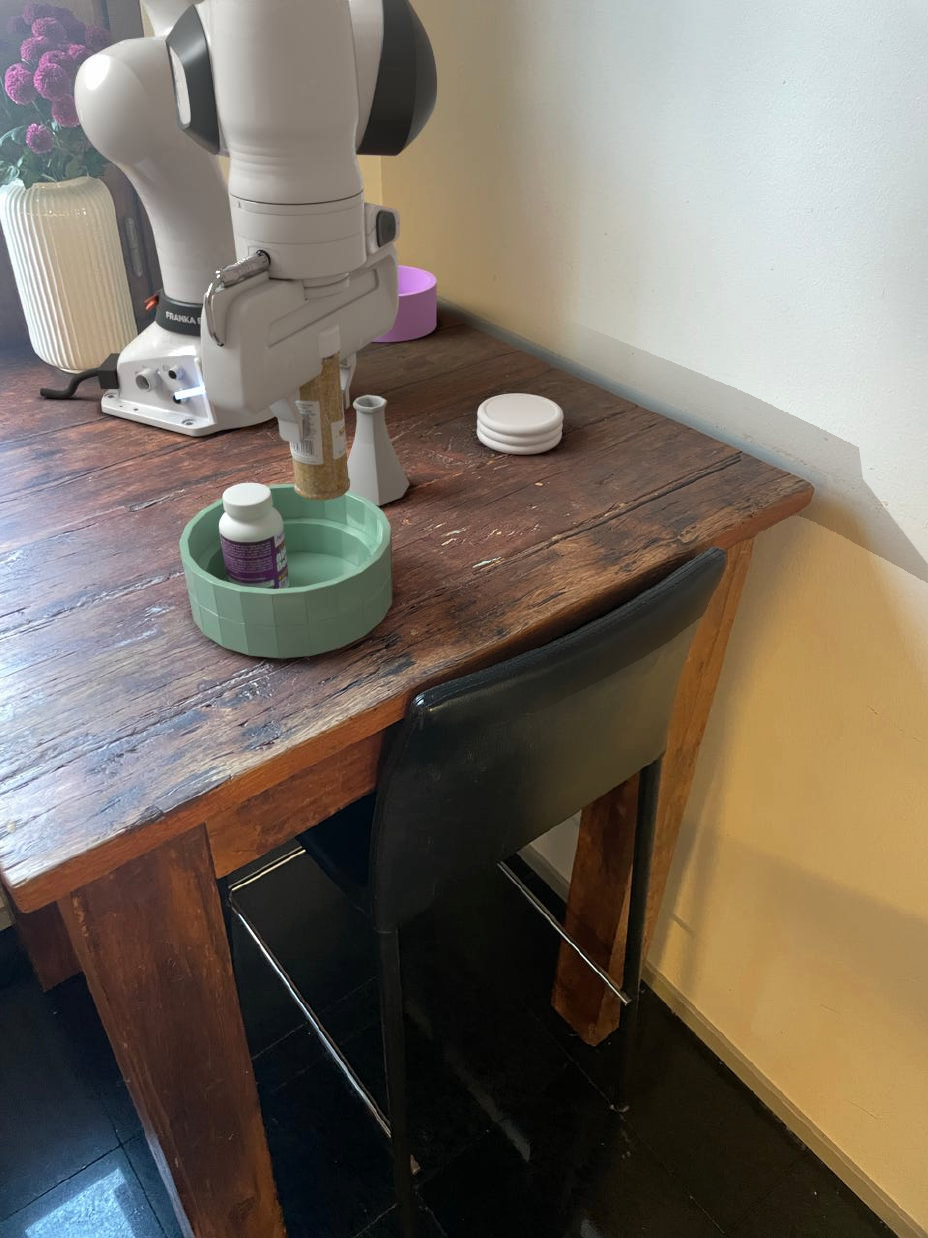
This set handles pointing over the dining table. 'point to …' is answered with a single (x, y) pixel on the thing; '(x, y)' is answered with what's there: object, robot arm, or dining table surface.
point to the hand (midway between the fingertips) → (316, 424)
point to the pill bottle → (253, 538)
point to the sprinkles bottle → (323, 428)
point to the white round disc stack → (519, 423)
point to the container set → (413, 306)
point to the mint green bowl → (295, 578)
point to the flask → (374, 455)
